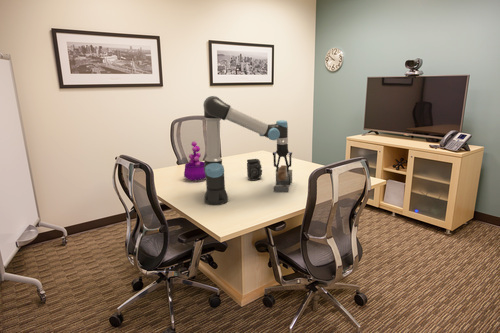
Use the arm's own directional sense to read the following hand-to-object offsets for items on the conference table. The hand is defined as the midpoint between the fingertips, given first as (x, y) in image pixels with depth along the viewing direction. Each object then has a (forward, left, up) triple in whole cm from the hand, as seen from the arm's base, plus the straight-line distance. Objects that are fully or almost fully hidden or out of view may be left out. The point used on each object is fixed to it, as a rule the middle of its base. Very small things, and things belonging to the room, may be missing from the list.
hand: (282, 176), depth 230 cm
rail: (0, 0, -1) cm, 1 cm away
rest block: (0, -8, -8) cm, 11 cm away
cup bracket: (0, +7, -8) cm, 11 cm away
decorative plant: (-68, +11, -9) cm, 70 cm away
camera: (-23, +17, -9) cm, 30 cm away
